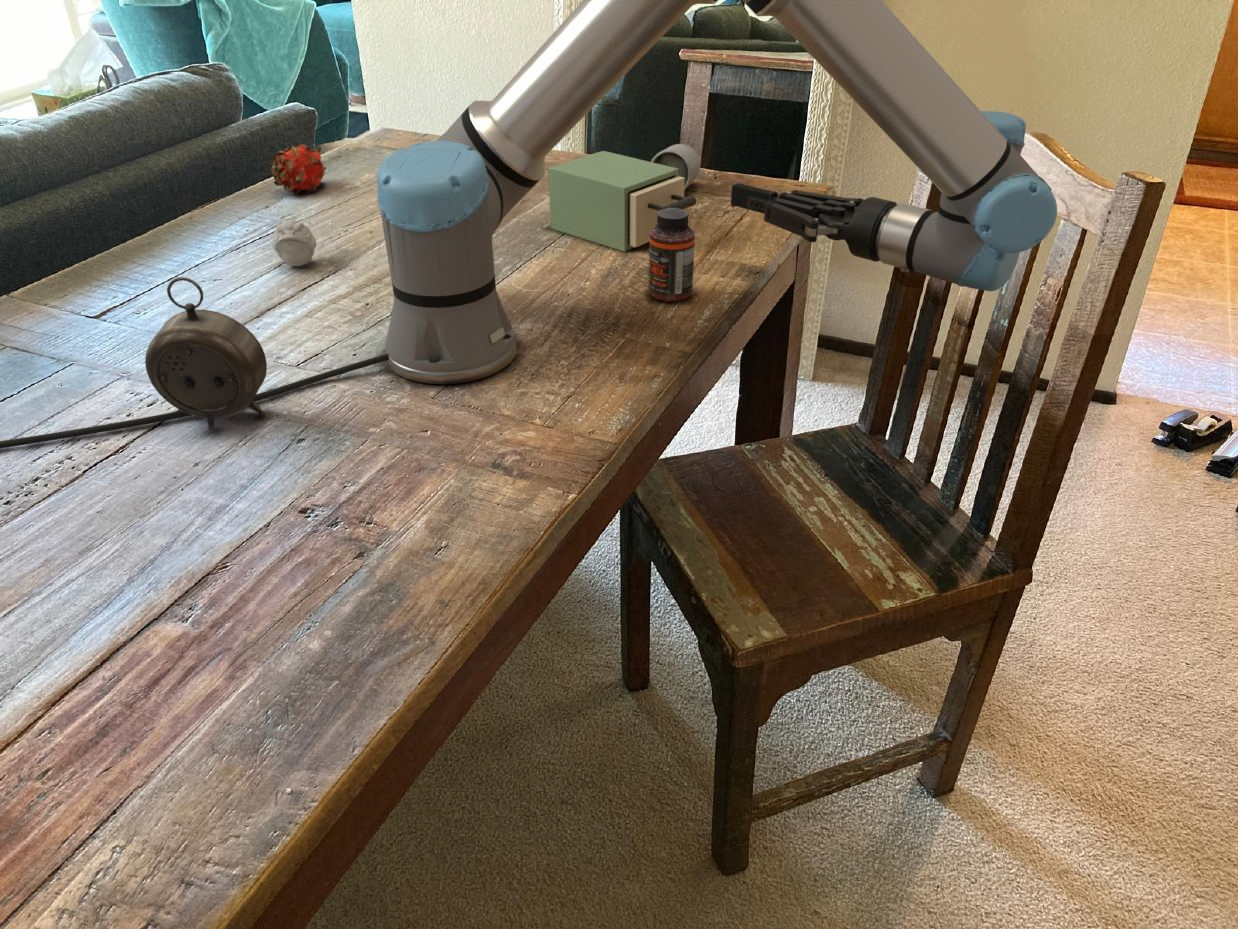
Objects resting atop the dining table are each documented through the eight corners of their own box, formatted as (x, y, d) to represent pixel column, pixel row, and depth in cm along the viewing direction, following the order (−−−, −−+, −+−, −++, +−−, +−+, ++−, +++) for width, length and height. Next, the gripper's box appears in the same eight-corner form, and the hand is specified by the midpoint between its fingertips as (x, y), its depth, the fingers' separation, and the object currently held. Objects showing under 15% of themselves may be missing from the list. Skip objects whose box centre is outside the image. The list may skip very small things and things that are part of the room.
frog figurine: (274, 276, 131) (263, 228, 127) (279, 258, 137) (269, 212, 133) (318, 273, 132) (309, 225, 128) (322, 255, 138) (313, 209, 134)
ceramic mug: (701, 184, 166) (703, 140, 161) (689, 197, 159) (690, 152, 155) (645, 179, 169) (645, 136, 164) (631, 193, 162) (630, 148, 158)
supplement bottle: (639, 294, 125) (639, 212, 119) (668, 282, 129) (670, 201, 123) (671, 307, 122) (674, 223, 116) (701, 294, 125) (705, 212, 119)
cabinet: (677, 229, 146) (678, 168, 141) (624, 251, 139) (624, 187, 133) (604, 208, 155) (603, 150, 150) (550, 228, 147) (548, 167, 142)
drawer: (704, 233, 142) (707, 182, 138) (657, 254, 135) (658, 201, 131) (613, 207, 153) (613, 159, 148) (565, 225, 146) (563, 176, 141)
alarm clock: (280, 408, 100) (245, 266, 91) (264, 434, 96) (226, 288, 87) (179, 409, 100) (135, 267, 91) (158, 435, 96) (110, 289, 87)
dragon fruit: (278, 209, 160) (320, 199, 170) (309, 183, 156) (350, 174, 166) (249, 165, 159) (293, 157, 169) (279, 138, 155) (322, 131, 165)
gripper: (858, 276, 114) (704, 232, 127) (908, 247, 122) (758, 208, 135) (867, 216, 109) (707, 177, 122) (918, 190, 118) (763, 156, 131)
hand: (734, 193), depth 129 cm, fingers closed
